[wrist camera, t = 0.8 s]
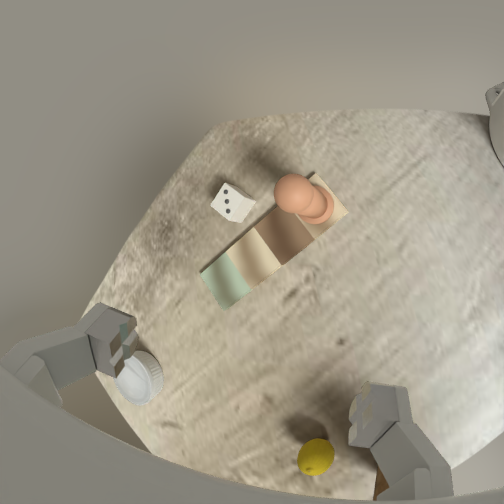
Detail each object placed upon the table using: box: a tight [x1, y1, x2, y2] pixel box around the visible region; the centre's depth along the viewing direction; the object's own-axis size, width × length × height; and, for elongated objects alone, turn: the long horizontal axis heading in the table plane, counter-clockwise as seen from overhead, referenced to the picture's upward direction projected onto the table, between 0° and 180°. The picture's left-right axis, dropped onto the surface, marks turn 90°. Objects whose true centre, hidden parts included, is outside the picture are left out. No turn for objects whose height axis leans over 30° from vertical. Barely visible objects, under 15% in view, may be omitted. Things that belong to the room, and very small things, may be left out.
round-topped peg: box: [274, 174, 334, 224], centre depth 36 cm, size 5×5×13 cm
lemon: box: [297, 438, 334, 476], centre depth 39 cm, size 6×6×8 cm
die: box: [210, 183, 256, 223], centre depth 46 cm, size 4×4×4 cm
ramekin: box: [113, 351, 164, 405], centre depth 54 cm, size 11×11×5 cm
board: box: [200, 173, 348, 311], centre depth 45 cm, size 24×7×1 cm, turn 127°
